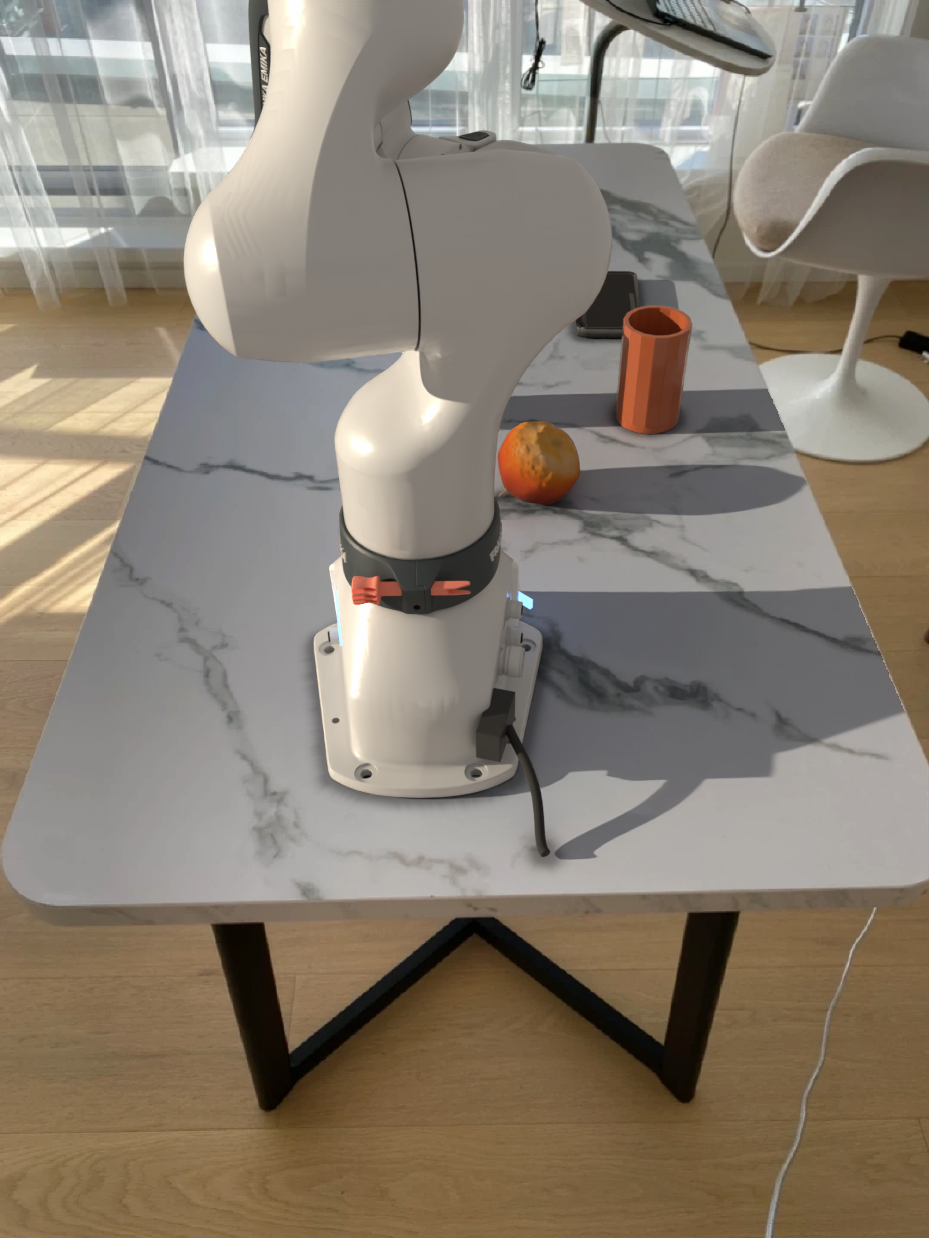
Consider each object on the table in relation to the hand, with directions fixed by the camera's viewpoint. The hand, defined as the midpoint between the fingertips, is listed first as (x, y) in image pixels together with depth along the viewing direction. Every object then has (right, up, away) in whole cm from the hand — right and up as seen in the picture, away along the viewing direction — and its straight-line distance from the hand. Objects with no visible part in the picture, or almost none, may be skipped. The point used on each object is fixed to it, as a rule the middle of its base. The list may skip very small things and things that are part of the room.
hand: (554, 215), depth 103 cm
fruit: (-2, -28, -1) cm, 28 cm away
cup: (+10, -18, +8) cm, 22 cm away
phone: (+9, -2, +25) cm, 27 cm away
